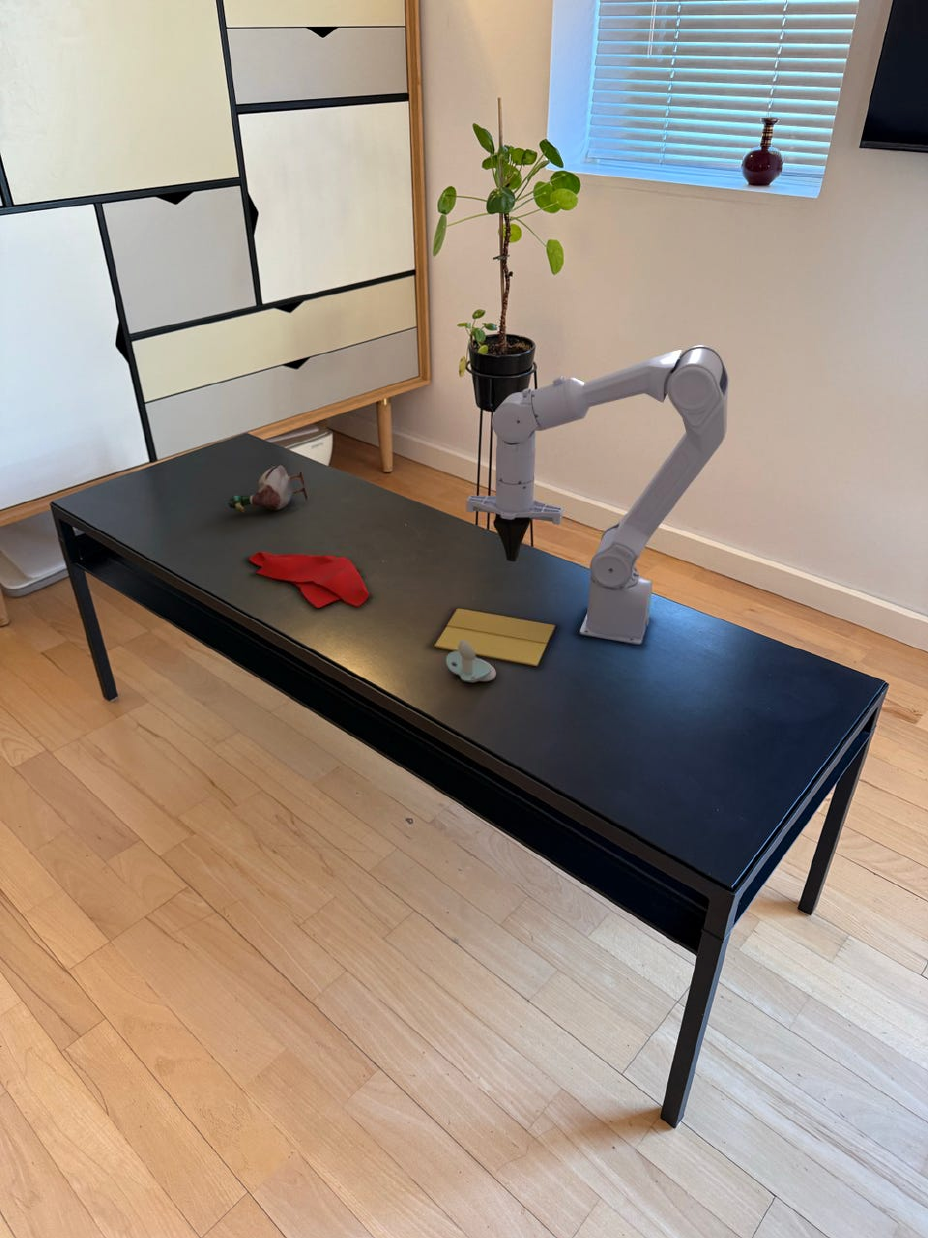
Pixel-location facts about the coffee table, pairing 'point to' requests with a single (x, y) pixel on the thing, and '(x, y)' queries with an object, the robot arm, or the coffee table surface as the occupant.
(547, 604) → the coffee table surface
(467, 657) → the pacifier
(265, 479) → the decorative duck model
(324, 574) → the cloth
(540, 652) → the envelope
